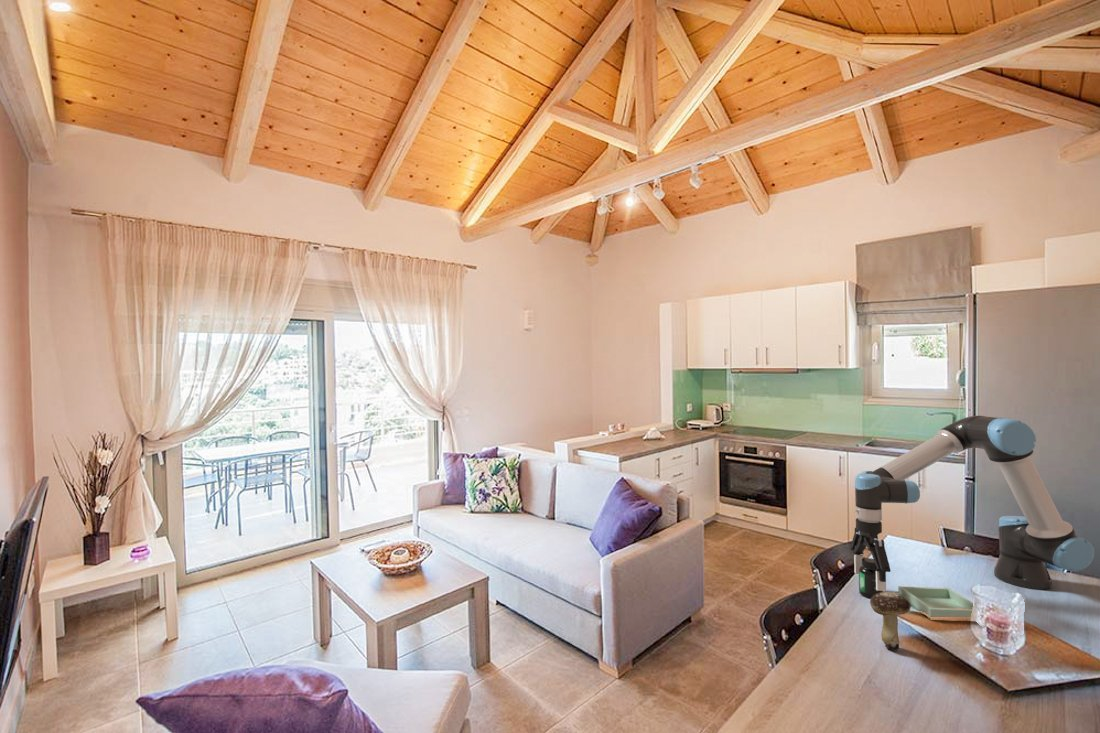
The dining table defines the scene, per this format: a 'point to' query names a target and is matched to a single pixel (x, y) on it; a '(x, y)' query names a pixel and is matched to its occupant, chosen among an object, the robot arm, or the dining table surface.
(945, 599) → the bin
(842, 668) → the dining table surface
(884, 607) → the mushroom
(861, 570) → the supplement bottle
